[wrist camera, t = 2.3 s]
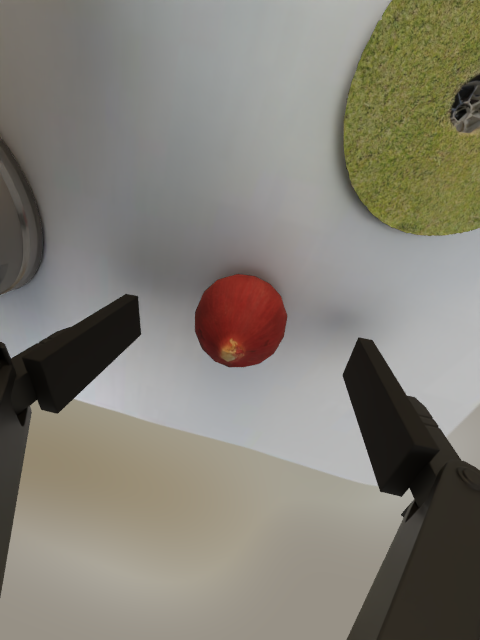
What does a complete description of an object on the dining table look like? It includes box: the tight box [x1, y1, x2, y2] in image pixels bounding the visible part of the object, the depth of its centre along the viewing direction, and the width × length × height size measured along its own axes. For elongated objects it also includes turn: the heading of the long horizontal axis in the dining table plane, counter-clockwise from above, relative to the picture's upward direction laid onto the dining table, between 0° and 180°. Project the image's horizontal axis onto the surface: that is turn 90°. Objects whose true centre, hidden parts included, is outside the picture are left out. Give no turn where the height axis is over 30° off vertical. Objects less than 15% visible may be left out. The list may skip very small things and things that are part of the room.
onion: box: [195, 274, 287, 367], centre depth 15 cm, size 6×6×8 cm
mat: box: [344, 0, 480, 236], centre depth 11 cm, size 11×11×2 cm
